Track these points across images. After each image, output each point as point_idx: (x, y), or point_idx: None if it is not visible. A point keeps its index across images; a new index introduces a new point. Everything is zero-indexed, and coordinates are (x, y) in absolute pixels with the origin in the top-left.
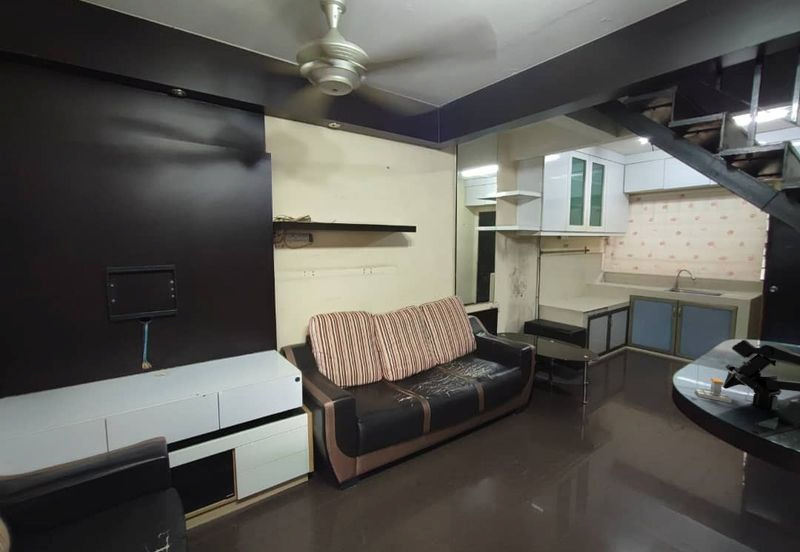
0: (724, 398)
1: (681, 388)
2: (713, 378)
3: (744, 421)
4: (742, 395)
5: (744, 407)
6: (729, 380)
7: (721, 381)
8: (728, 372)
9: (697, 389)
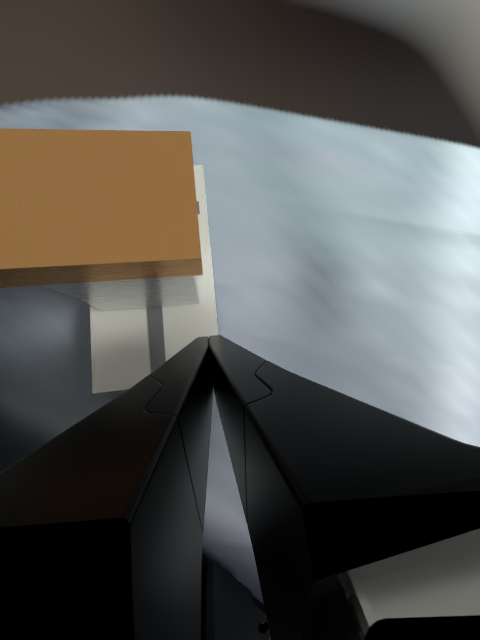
0: (91, 341)
1: (226, 116)
2: (146, 155)
3: None
4: None
5: None
6: (120, 406)
7: (17, 251)
8: (478, 456)
9: (195, 175)
